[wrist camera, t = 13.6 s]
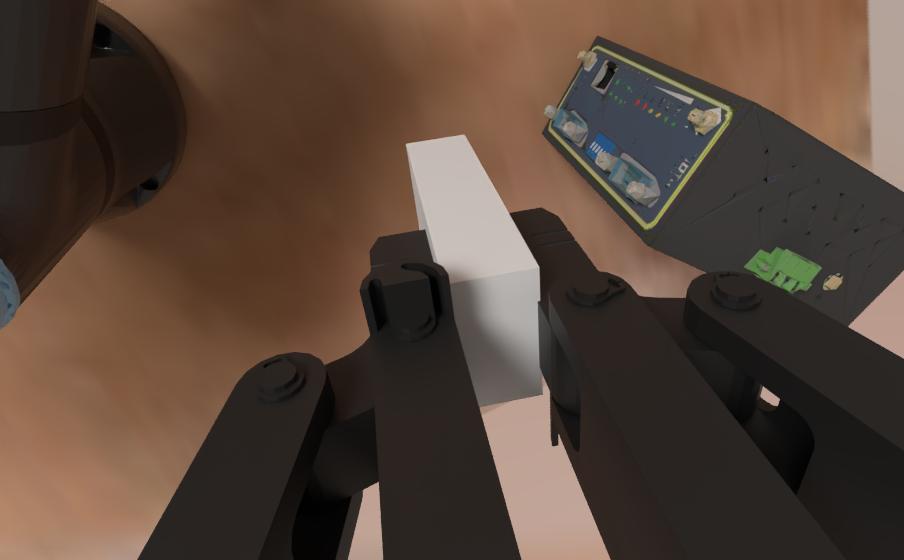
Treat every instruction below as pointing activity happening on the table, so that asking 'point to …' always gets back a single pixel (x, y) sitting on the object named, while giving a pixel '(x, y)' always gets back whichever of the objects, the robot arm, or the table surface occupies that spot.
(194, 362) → the table surface
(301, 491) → the robot arm
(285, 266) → the table surface
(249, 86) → the table surface
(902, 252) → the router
